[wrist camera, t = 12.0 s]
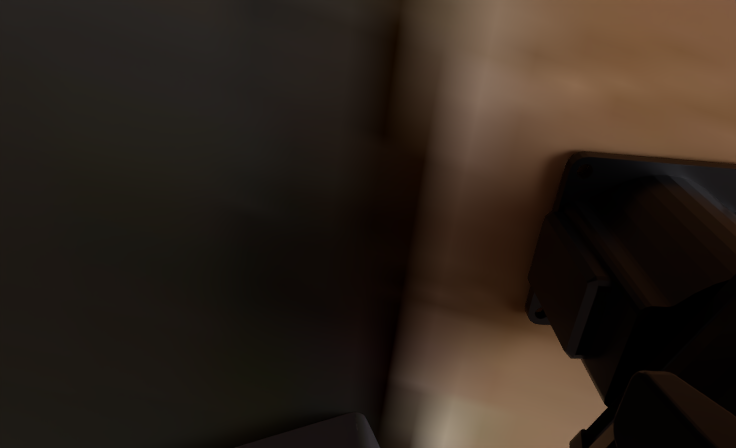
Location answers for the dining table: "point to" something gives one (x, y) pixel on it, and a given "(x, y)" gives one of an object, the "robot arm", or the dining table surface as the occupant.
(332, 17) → the dining table surface
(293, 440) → the red grey flat block
